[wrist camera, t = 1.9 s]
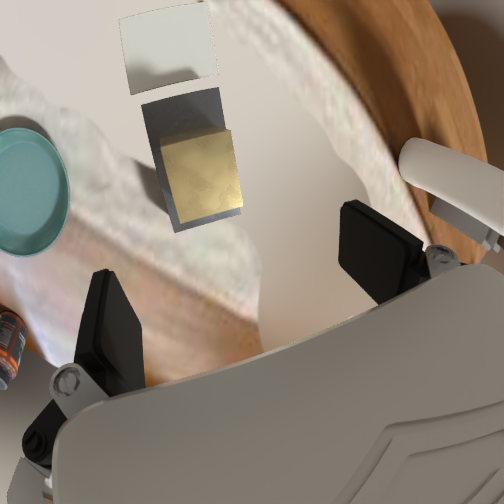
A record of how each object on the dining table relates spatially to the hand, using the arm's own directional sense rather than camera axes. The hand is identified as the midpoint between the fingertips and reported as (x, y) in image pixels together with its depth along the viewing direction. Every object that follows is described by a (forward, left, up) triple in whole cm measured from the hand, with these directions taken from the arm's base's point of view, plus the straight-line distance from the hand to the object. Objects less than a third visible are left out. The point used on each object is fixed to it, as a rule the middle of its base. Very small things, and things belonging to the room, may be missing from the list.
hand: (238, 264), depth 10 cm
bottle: (+6, +35, -21) cm, 41 cm away
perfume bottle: (+16, +47, -21) cm, 53 cm away
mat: (-13, +1, -21) cm, 24 cm away
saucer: (-3, -19, -21) cm, 29 cm away
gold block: (0, +1, -17) cm, 17 cm away
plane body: (0, +1, -21) cm, 21 cm away
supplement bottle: (+14, -33, -21) cm, 42 cm away
